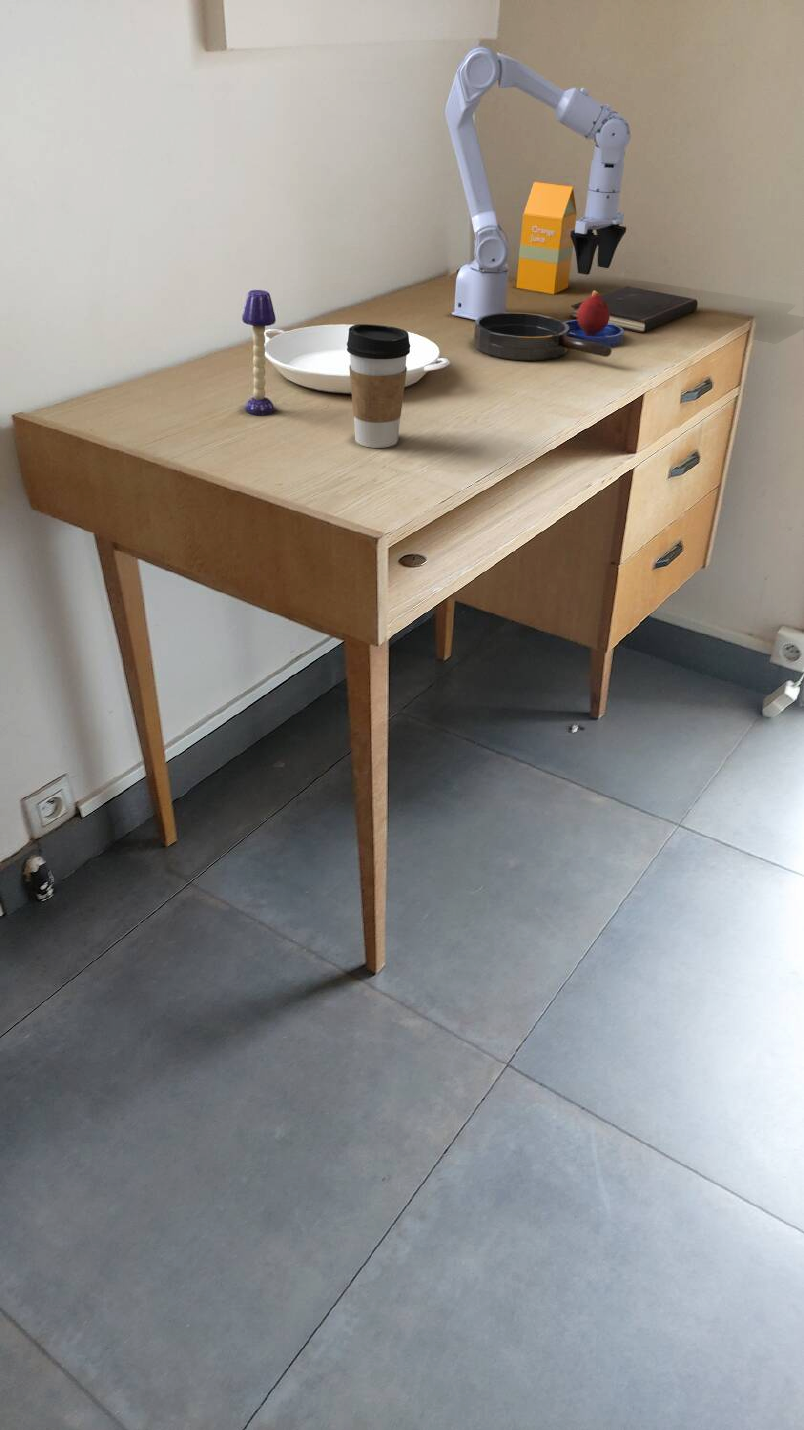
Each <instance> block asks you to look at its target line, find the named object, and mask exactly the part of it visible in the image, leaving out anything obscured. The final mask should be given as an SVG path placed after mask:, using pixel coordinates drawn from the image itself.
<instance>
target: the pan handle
mask: <svg viewBox="0 0 804 1430" xmlns="http://www.w3.org/2000/svg"><path fill="white" fill-rule="evenodd" d="M559 346H561V347H565V348H567V349H570V350H574V351H578V352H583V353H588V354H591V355H595V356H600V357H604V358H606V357H609V356H610V355H611V354H612V351H613V350H612V347H609V346H607V345H602V344H598V343H594V342H589V341H585V340H581V339H576V338H572V337H567V336H561V338H560V340H559Z"/></svg>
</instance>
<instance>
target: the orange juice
mask: <svg viewBox="0 0 804 1430" xmlns="http://www.w3.org/2000/svg"><path fill="white" fill-rule="evenodd" d="M574 191H575V190H574V186H573V185H568V184H559V183H550V182H545V181H544V182H542V181H535V180H534V181H533V185H532V188H531V190H530V193H529V196H528V199H527V203H526V205H525V209H524V210H523V211H524V212H523V213H522V222H521V231H520V232H521V234H520V244H519V253H518V266H517V275H516V276H517V277H516V289H521V290H527V291H534V292H539V293H544V294H551V295H555V294H558V293H559V292H561V291H563V290H566V289H567V288H569V282H570V281H569V280H570V272H571V265H572V258H573V250H574V244H573V242H572V239H571V237H570V234H571V231H573V230H575V226H576V221H577V216H578V212H577V207H576V197H575V192H574Z"/></svg>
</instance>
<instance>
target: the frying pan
mask: <svg viewBox="0 0 804 1430" xmlns="http://www.w3.org/2000/svg"><path fill="white" fill-rule="evenodd" d="M473 330H474V332H473V346H474V348H476V349H477V350H478V351H480V352H482V353H484V354H486V355H489V356H491V357H495V358H499V359H504V360H512V361H523V362H524V361H525V362H526V361H528V362H531V361H546V360H550V359H554V358H557V357H560V356H563V355H564V354H565V353H566V352H567V351H568V348H565V347H561V346H559V340H560V338H561V336H567V337H569V330H570V328H569V326H568V324H566V323H565V321H563V320H560V319H558V318H556V317H553V316H547V315H544V314H537V313H529V312H513V311H511V312H509V311H508V312H507V313H495V314H488V315H485V316H482V317H479V318H478V319H477V320H474V329H473Z"/></svg>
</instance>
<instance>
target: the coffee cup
mask: <svg viewBox="0 0 804 1430" xmlns="http://www.w3.org/2000/svg"><path fill="white" fill-rule="evenodd" d="M352 325H353V326H351V327H350V328H349V335H348V342H347V351H348V352H349V353H350V362H351V364H350V366H349V369H350V381H351V393H352V394H351V402H352V412H353V413H352V415H353V427H354V440H355V442H356V443H357V445H359V446H363V447H366V448H373V449H385V448H391V447H393V446H395V445H396V444H397V443H398V440H399V433H400V424H401V423H400V422H401V416H402V411H403V409H402V408H403V400H404V395H405V388H406V387H405V379H406V372H407V367H406V358H407V355H408V354H409V353H410V343H409V334H408V332H409V331H407V332H406V330H405V329H402V328H399V327H394V326H390V325H380V324H369V323H368V324H367V323H366V324H365V323H362V324H361V323H359V324H352Z"/></svg>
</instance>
